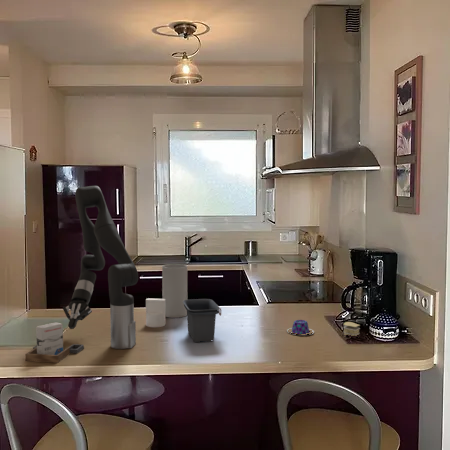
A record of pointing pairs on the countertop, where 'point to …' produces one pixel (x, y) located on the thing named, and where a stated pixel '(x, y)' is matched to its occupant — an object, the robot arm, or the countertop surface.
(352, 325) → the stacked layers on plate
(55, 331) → the ink box
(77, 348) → the trap pits
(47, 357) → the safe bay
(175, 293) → the cylinder vase
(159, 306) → the cylinder with rectangular tab
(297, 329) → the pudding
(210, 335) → the storage bin
